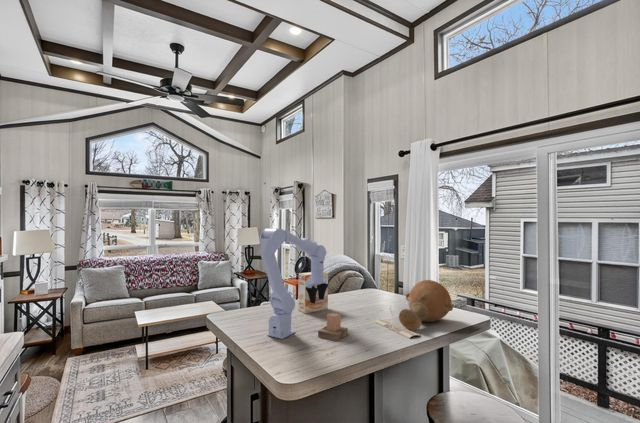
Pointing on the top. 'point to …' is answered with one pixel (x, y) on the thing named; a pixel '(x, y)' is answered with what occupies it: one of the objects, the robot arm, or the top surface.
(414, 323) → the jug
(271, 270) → the robot arm
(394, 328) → the newspaper
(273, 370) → the top surface
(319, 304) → the coffeecake box
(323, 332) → the walnut base block
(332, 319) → the terracotta block
